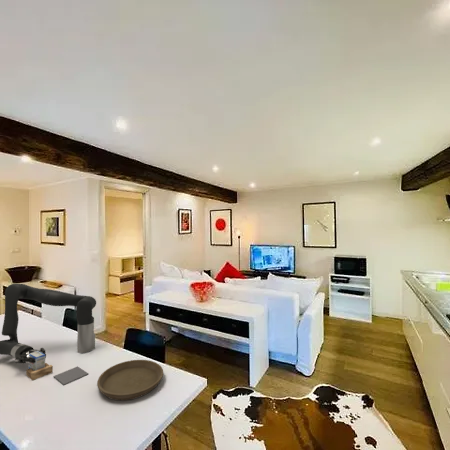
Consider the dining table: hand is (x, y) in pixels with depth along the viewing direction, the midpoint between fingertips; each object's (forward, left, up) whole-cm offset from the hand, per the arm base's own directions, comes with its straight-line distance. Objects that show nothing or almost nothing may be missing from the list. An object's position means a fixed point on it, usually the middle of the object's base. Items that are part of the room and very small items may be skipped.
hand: (39, 358), depth 138 cm
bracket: (0, +1, -7) cm, 8 cm away
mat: (-9, +16, -7) cm, 20 cm away
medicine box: (0, -3, -7) cm, 7 cm away
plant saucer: (-24, +47, -8) cm, 54 cm away
